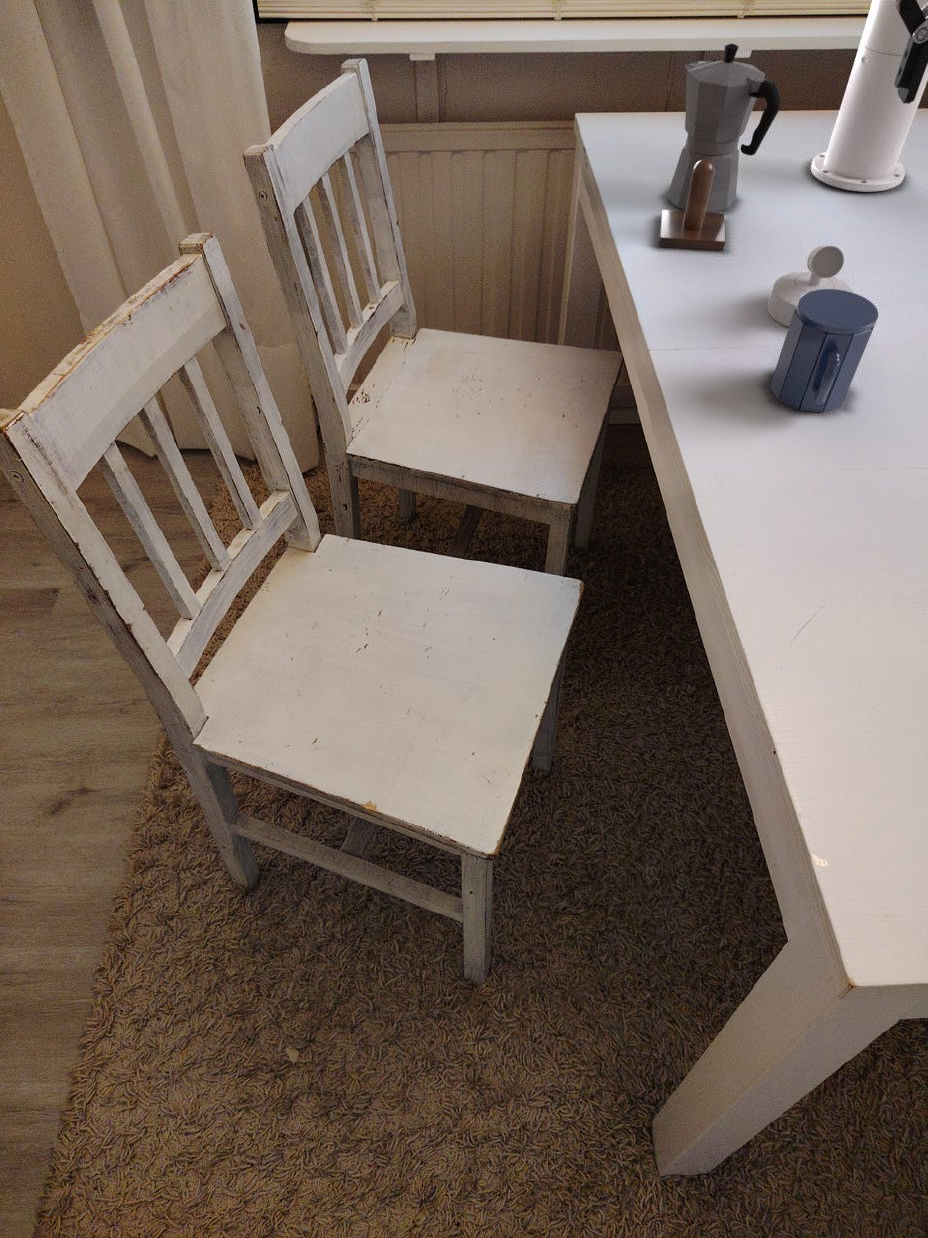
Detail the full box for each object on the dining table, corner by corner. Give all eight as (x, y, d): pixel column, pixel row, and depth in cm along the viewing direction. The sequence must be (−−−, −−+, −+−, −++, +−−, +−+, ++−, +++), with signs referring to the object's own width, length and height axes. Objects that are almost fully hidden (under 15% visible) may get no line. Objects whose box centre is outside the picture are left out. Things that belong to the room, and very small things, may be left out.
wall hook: (788, 245, 81) (795, 204, 87) (762, 331, 88) (771, 287, 94) (877, 257, 79) (878, 214, 85) (843, 343, 86) (847, 298, 92)
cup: (768, 367, 84) (793, 285, 77) (842, 373, 83) (874, 291, 76) (772, 419, 78) (800, 336, 71) (852, 426, 77) (888, 343, 70)
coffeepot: (642, 192, 111) (664, 38, 98) (689, 174, 115) (718, 23, 101) (725, 232, 103) (763, 70, 89) (773, 211, 107) (817, 53, 93)
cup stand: (660, 218, 106) (673, 145, 99) (722, 222, 105) (738, 148, 98) (658, 246, 101) (671, 171, 94) (723, 250, 100) (740, 175, 93)
